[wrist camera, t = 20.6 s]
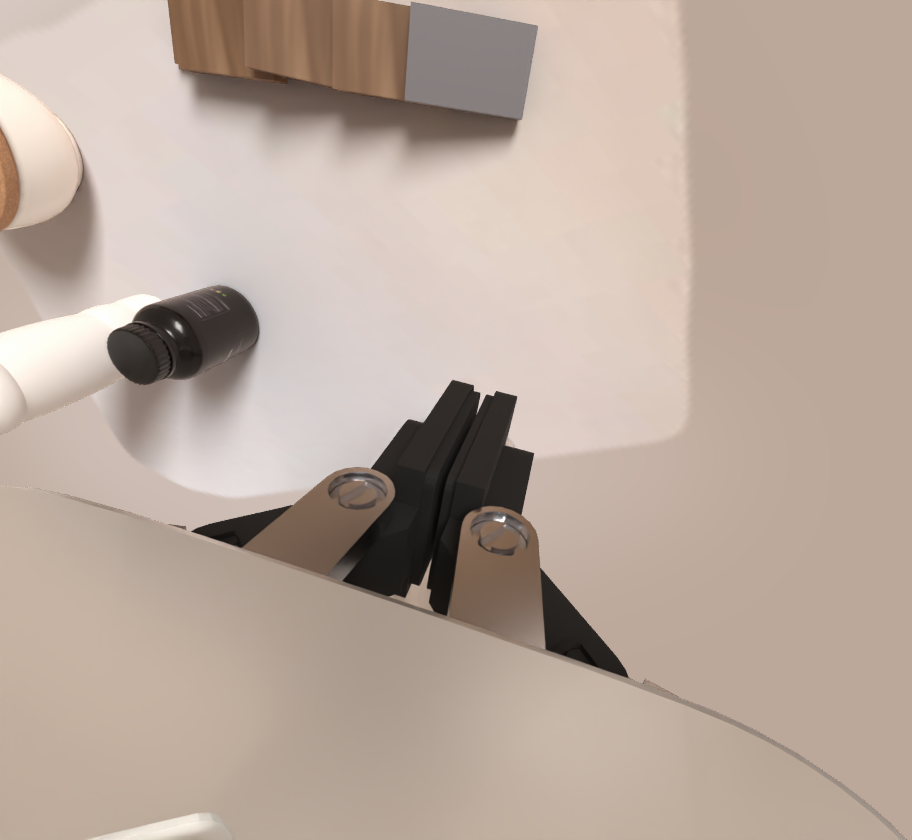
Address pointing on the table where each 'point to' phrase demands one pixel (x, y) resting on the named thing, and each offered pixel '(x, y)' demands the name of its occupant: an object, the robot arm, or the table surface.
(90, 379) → the water bottle
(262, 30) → the domino
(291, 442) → the table surface
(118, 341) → the supplement bottle
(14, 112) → the lidded bowl
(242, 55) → the domino
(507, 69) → the domino
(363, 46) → the domino
